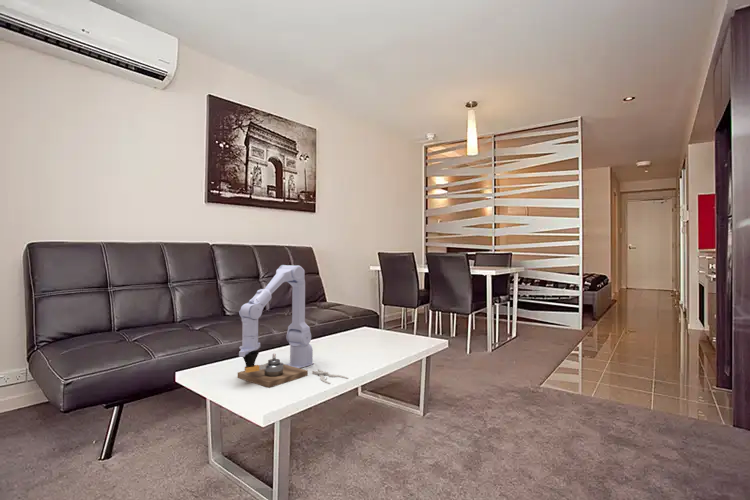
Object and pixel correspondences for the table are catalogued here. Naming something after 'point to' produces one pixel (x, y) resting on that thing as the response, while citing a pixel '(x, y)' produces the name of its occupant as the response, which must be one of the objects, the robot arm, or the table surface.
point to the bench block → (270, 381)
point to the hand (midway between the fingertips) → (249, 371)
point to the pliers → (326, 375)
